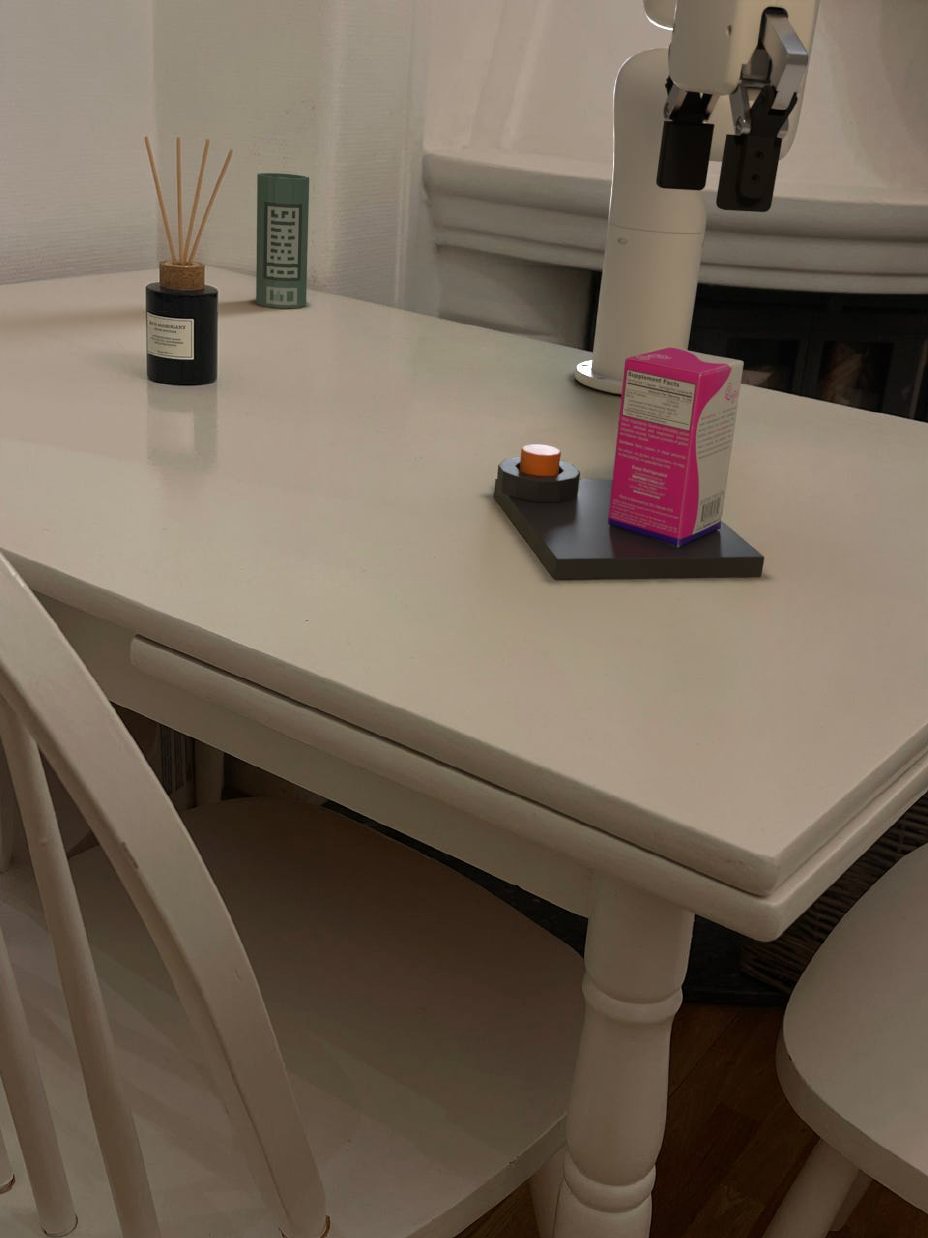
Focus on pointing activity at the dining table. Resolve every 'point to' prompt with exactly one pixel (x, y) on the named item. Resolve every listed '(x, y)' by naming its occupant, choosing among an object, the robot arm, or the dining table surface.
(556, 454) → the tare button
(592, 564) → the scale
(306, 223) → the can
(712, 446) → the supplement box
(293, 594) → the dining table surface
